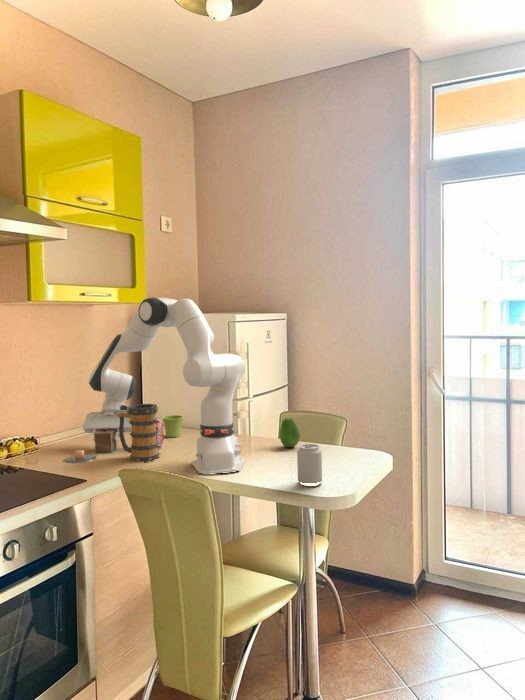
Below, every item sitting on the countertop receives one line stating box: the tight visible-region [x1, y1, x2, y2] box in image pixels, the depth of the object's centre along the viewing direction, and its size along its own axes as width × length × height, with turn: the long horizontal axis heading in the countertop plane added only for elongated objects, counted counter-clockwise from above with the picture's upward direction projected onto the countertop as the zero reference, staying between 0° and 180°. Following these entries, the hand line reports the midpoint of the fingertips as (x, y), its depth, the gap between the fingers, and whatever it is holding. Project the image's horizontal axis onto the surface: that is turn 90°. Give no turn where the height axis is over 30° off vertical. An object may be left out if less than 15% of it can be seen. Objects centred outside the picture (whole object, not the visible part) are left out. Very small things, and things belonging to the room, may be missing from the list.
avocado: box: [279, 417, 301, 448], centre depth 219 cm, size 8×8×12 cm
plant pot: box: [162, 414, 184, 438], centre depth 248 cm, size 9×9×9 cm
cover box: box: [94, 428, 118, 453], centre depth 221 cm, size 6×6×9 cm
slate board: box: [63, 454, 97, 464], centre depth 210 cm, size 12×12×1 cm
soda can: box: [155, 417, 164, 450], centre depth 225 cm, size 7×7×12 cm
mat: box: [88, 447, 123, 456], centre depth 221 cm, size 10×10×1 cm
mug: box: [117, 403, 161, 463], centre depth 209 cm, size 13×17×20 cm
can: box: [296, 443, 323, 483], centre depth 170 cm, size 8×8×12 cm
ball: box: [74, 449, 86, 460], centre depth 210 cm, size 3×3×3 cm
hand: (105, 440), depth 220 cm, fingers closed on cover box, 6 cm apart
